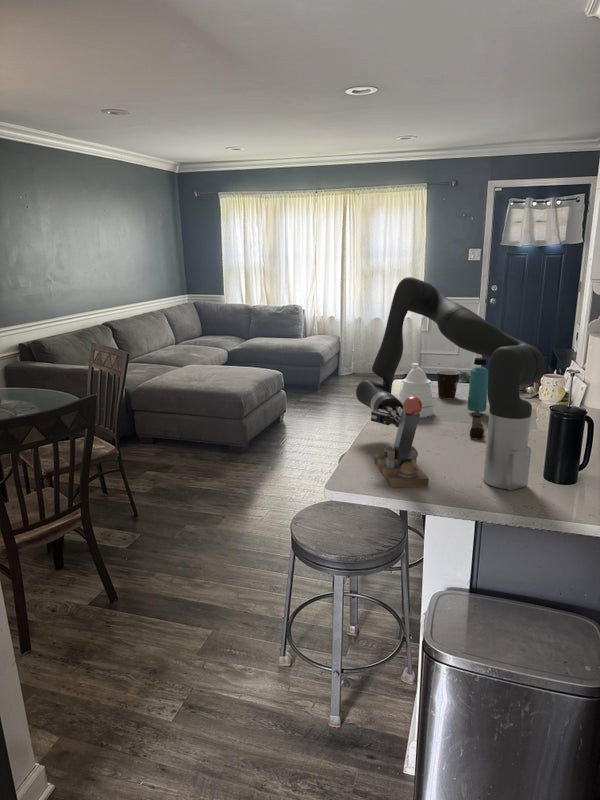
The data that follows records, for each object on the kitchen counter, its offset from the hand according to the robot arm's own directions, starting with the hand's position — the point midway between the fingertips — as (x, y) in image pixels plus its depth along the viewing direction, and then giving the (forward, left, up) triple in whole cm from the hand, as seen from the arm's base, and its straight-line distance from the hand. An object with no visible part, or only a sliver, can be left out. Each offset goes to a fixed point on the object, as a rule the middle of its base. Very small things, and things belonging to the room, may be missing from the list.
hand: (403, 425), depth 133 cm
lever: (+1, -1, -10) cm, 10 cm away
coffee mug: (+56, -70, -13) cm, 90 cm away
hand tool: (+18, -46, -13) cm, 51 cm away
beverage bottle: (+32, -62, -13) cm, 71 cm away
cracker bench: (+1, -1, -13) cm, 13 cm away
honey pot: (+44, -44, -13) cm, 64 cm away
